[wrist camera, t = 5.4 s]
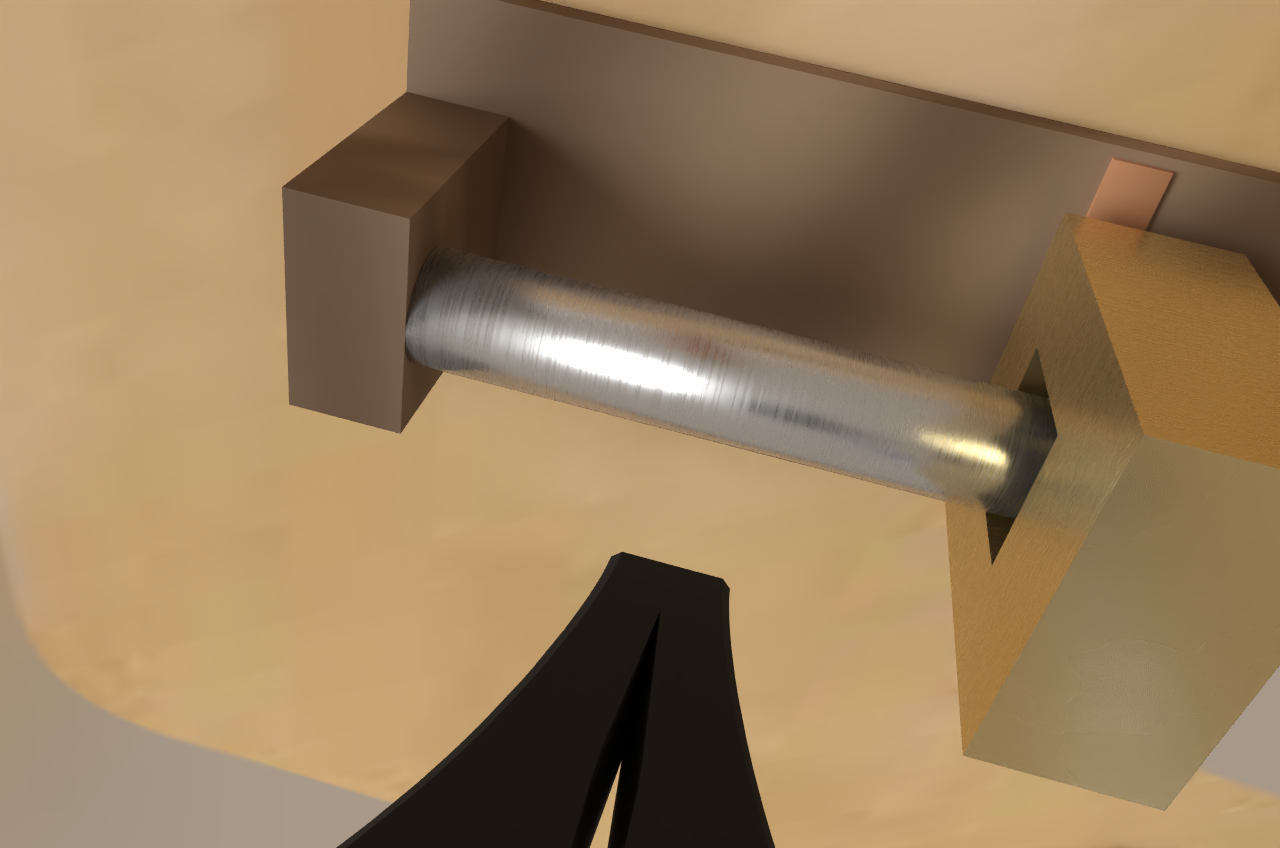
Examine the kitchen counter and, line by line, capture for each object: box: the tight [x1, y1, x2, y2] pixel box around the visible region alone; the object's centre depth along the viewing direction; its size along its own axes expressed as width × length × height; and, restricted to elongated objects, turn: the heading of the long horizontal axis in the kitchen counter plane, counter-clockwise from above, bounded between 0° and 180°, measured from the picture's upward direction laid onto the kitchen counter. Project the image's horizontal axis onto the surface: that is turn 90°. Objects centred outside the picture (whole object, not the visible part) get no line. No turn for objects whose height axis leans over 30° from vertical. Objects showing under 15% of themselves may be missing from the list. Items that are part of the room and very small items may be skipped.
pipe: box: [405, 246, 1058, 519], centre depth 17 cm, size 18×2×2 cm, turn 80°
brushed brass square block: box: [945, 212, 1280, 811], centre depth 16 cm, size 3×6×7 cm, turn 170°
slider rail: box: [282, 0, 1280, 501], centre depth 18 cm, size 18×8×6 cm, turn 80°
